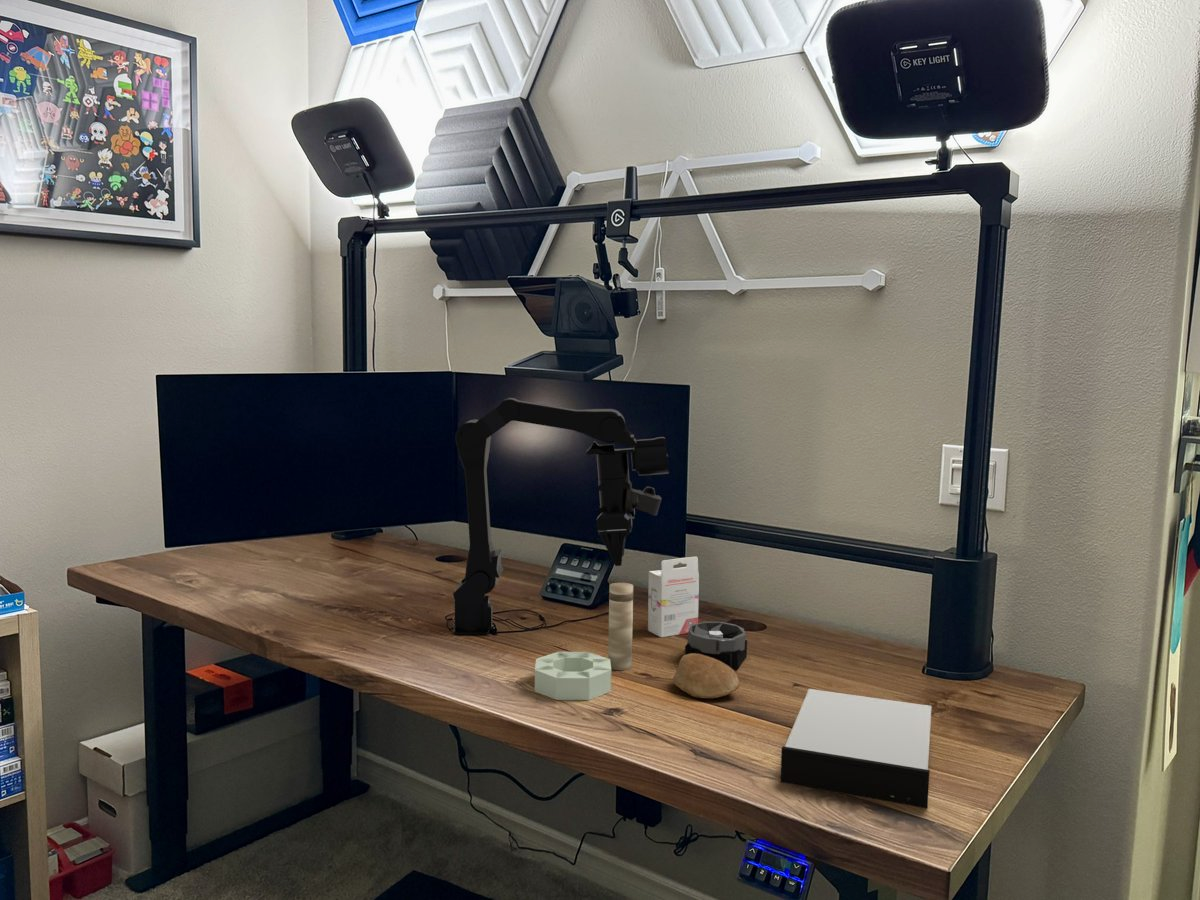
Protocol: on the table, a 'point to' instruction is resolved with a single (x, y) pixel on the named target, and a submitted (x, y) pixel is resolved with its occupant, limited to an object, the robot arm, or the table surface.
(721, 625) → the cpu cooler
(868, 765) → the disc drive
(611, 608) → the maple peg
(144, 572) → the table surface
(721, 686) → the stone
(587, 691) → the sage ashtray
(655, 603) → the ink cartridge box
